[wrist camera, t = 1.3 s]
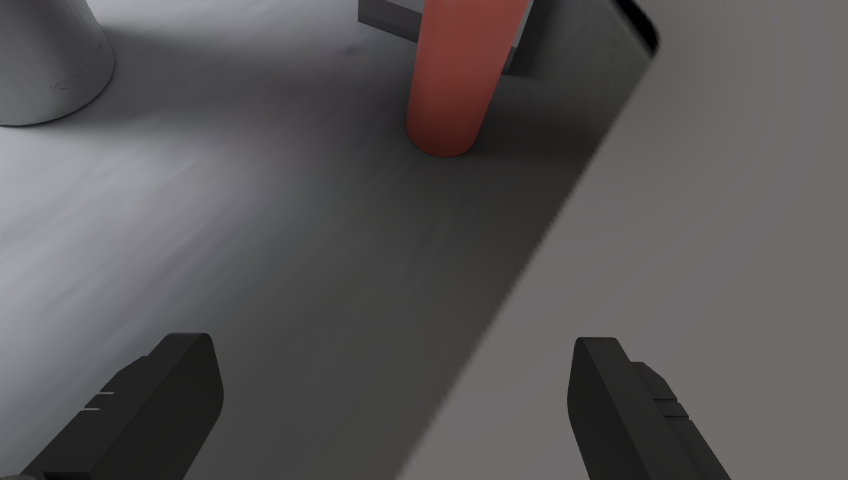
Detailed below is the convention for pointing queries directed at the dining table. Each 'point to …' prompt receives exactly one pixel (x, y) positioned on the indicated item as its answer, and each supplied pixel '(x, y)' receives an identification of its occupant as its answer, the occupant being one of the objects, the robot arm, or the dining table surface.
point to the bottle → (458, 70)
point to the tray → (414, 20)
